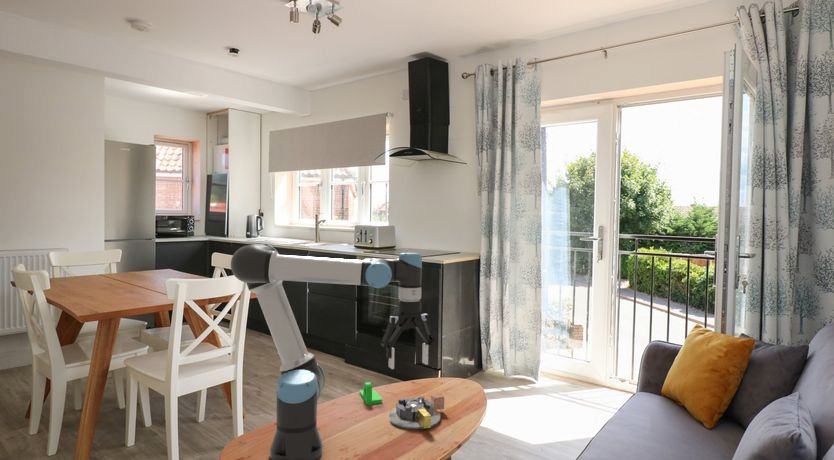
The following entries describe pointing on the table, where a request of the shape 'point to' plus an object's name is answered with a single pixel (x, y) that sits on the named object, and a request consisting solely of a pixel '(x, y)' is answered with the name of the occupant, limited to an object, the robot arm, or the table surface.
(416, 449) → the table surface
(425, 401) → the grey ring yellow handle
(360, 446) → the table surface
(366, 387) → the mechanical part
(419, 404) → the housing
